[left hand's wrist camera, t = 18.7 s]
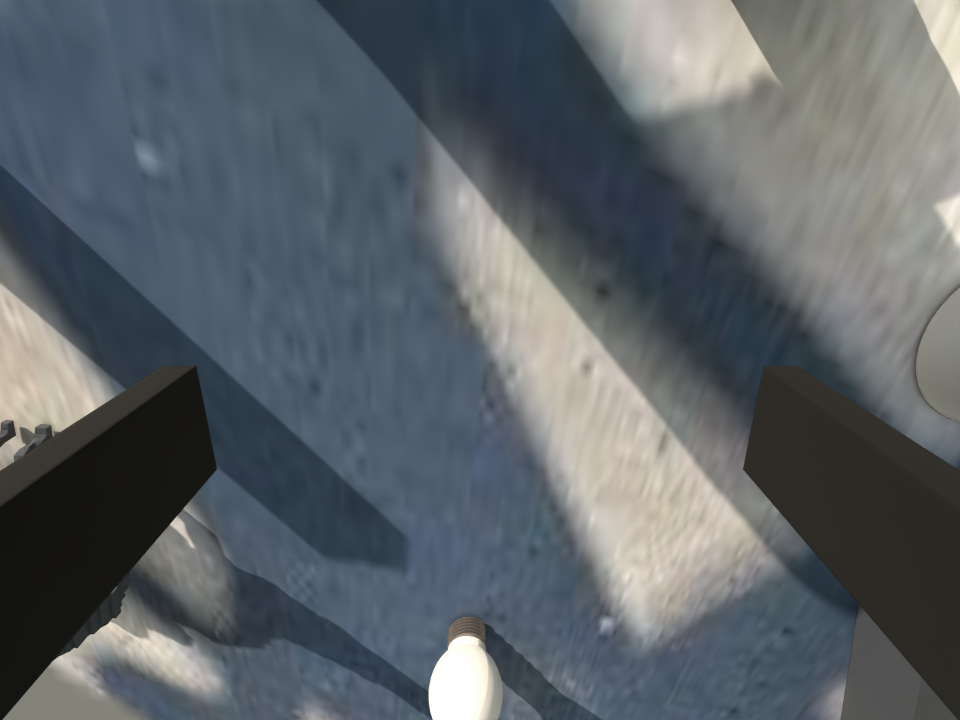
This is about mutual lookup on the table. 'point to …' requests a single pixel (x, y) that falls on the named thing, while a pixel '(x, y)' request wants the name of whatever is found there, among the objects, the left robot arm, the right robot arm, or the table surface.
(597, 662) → the table surface
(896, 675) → the bar
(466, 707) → the light bulb
